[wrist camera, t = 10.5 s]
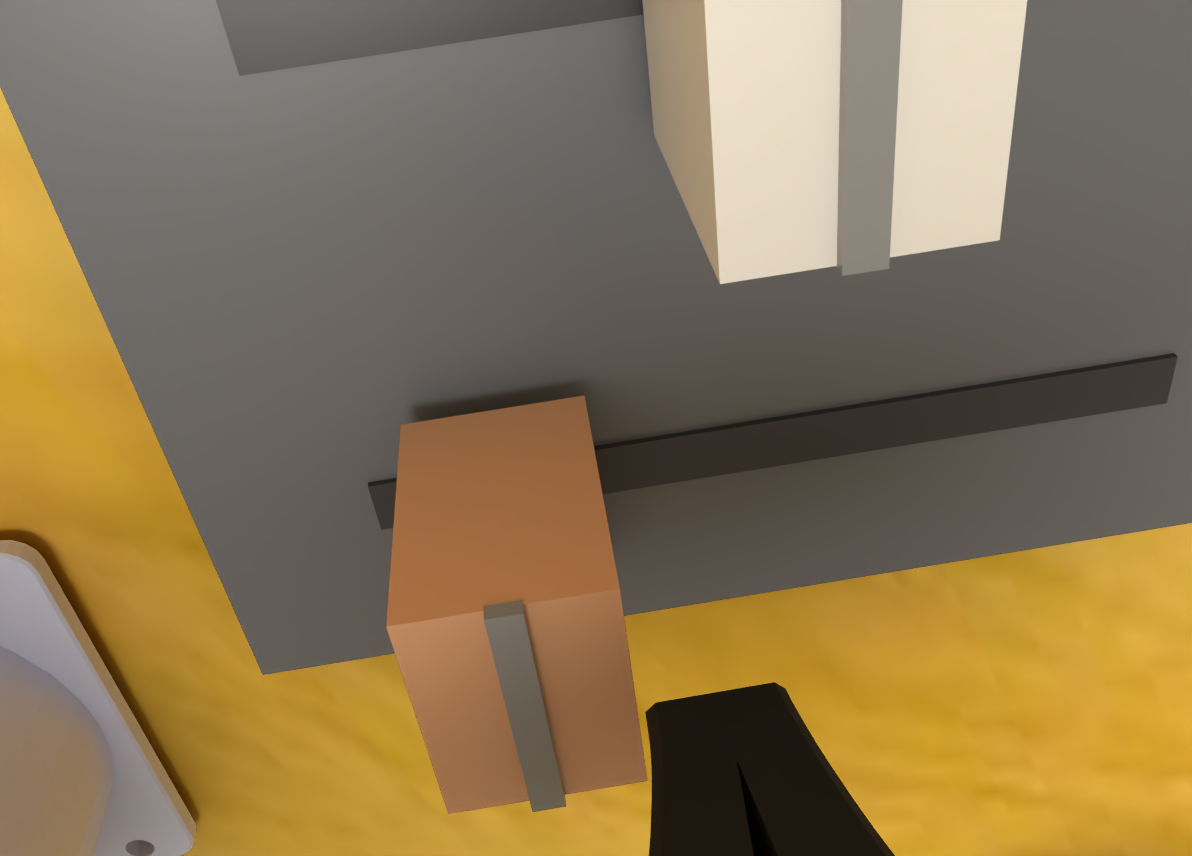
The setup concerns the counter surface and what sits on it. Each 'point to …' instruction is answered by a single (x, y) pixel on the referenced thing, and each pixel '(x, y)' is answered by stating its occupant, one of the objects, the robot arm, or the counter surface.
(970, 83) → the fader cream
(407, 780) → the counter surface
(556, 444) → the fader terracotta
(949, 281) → the console
